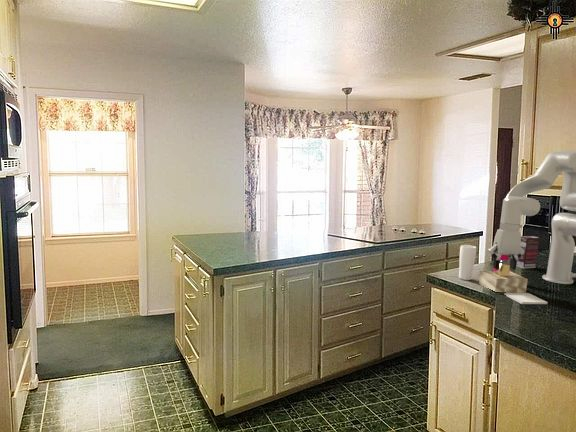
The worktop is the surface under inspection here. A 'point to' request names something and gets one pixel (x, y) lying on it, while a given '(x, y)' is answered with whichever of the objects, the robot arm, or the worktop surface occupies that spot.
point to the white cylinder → (466, 261)
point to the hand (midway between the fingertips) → (504, 268)
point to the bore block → (503, 282)
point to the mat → (525, 298)
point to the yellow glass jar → (504, 268)
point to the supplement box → (528, 252)
